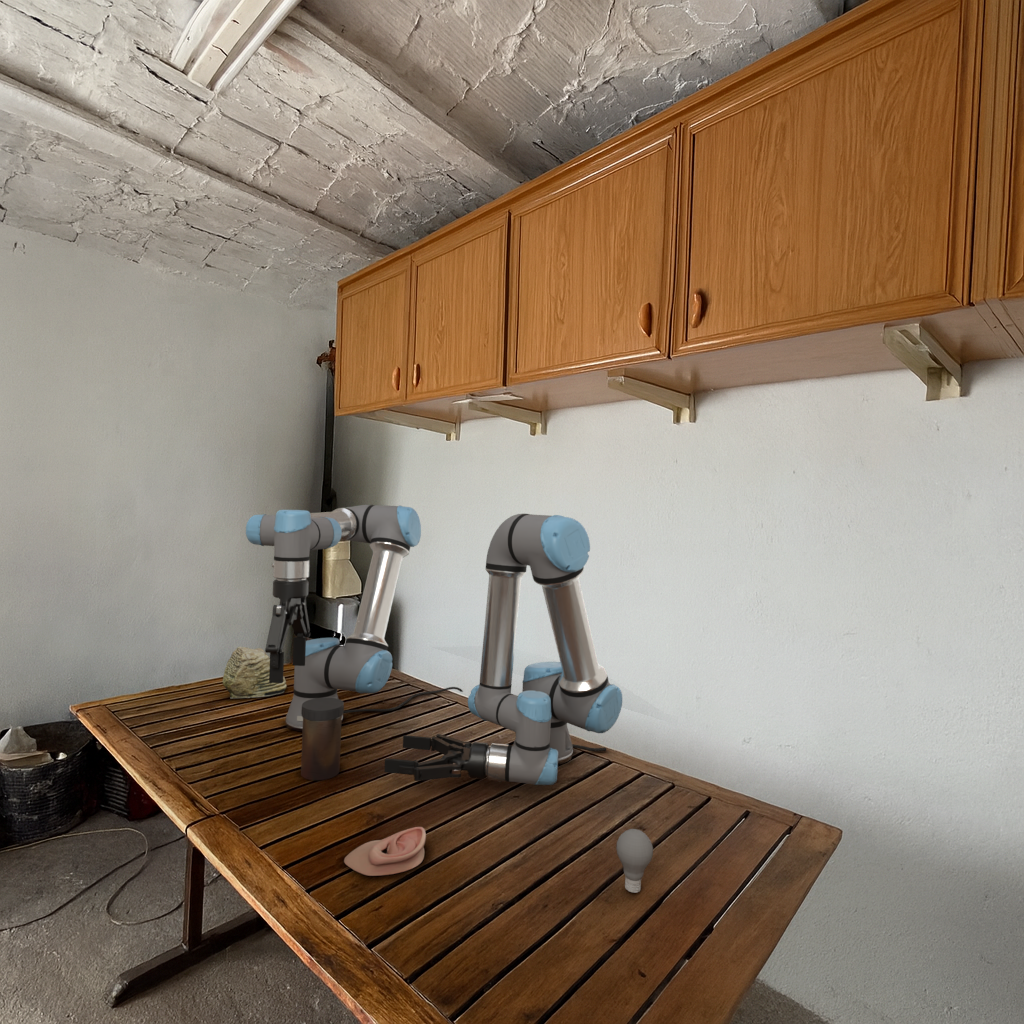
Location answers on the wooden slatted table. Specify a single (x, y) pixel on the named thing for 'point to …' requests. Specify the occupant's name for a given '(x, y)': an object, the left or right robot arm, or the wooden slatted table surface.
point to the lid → (322, 709)
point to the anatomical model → (389, 853)
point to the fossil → (250, 674)
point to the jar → (321, 749)
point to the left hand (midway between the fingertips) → (288, 673)
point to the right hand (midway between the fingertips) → (394, 752)
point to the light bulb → (634, 857)
